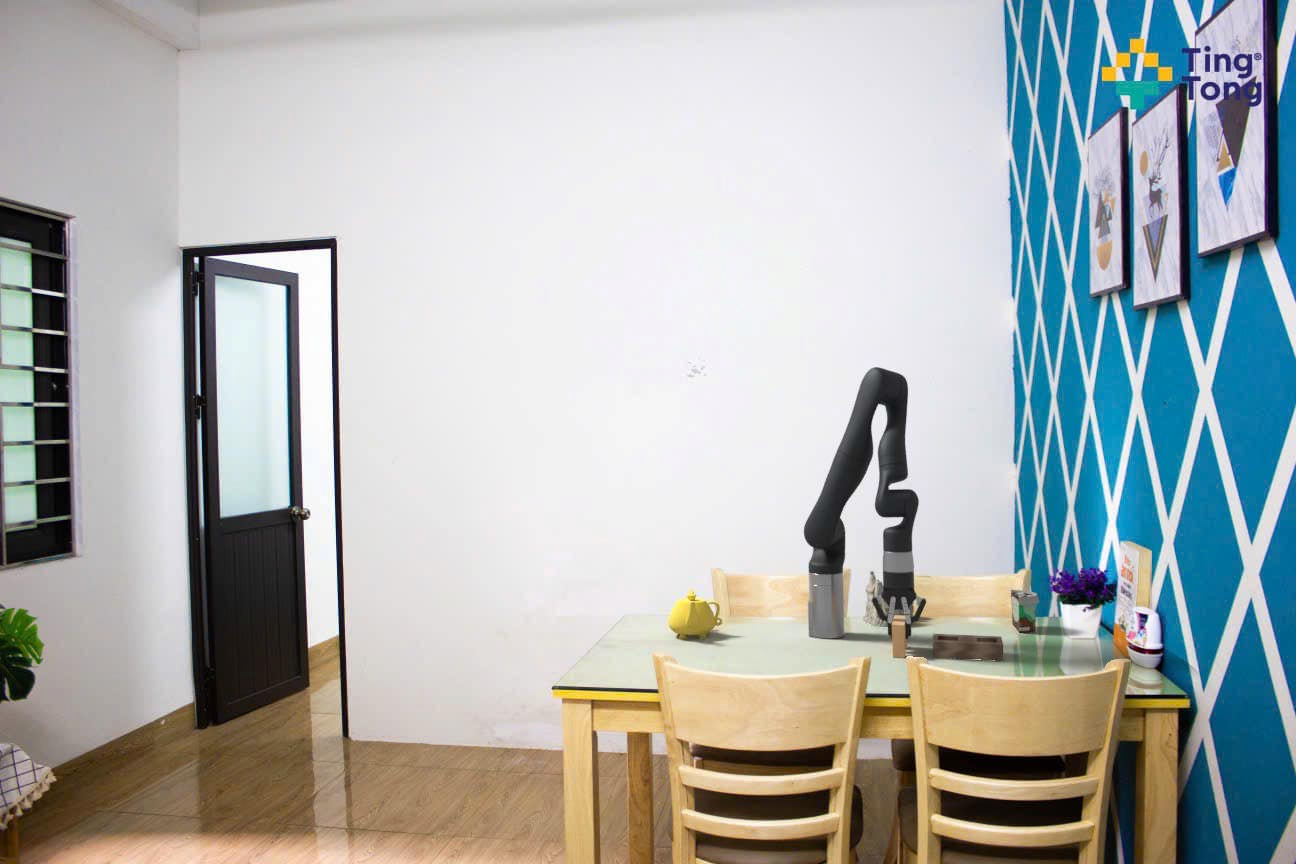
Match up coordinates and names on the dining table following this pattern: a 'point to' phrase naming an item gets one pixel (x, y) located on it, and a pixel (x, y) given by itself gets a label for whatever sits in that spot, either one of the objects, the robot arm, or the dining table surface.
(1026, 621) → the food container
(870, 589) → the ceramic cottage
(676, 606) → the teapot
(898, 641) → the tan u-shaped block
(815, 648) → the dining table surface
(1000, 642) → the brown slotted wooden block
